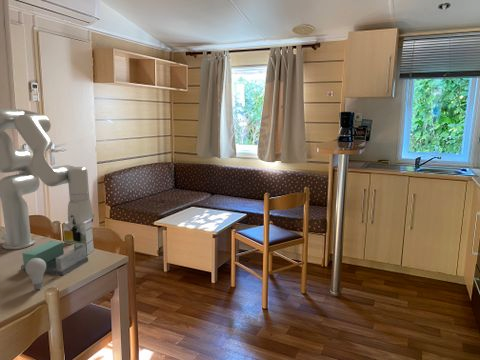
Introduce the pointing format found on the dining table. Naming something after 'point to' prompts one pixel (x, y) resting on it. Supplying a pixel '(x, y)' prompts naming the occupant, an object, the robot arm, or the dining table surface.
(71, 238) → the supplement bottle
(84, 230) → the syrup box
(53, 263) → the base
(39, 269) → the lightbulb
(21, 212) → the robot arm
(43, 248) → the teal green rectangular block
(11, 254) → the dining table surface
